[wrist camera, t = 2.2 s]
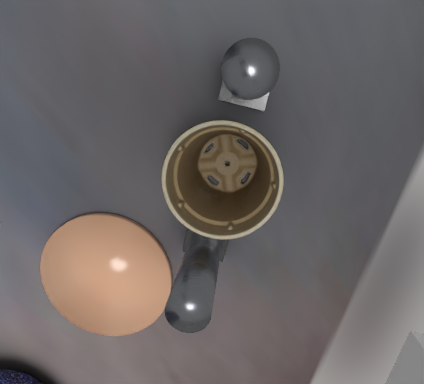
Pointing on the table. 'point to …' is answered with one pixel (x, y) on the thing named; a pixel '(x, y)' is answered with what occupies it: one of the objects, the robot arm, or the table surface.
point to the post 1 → (195, 283)
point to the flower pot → (222, 180)
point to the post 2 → (249, 73)
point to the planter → (16, 377)
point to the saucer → (106, 274)
